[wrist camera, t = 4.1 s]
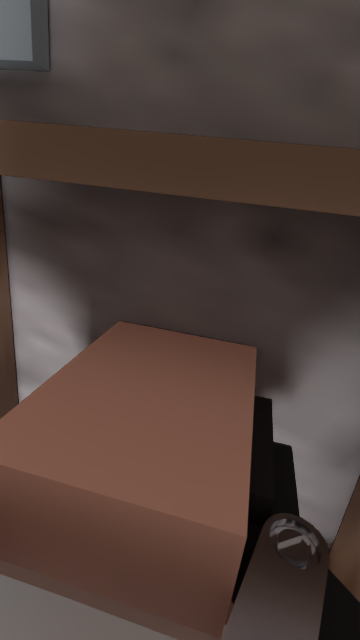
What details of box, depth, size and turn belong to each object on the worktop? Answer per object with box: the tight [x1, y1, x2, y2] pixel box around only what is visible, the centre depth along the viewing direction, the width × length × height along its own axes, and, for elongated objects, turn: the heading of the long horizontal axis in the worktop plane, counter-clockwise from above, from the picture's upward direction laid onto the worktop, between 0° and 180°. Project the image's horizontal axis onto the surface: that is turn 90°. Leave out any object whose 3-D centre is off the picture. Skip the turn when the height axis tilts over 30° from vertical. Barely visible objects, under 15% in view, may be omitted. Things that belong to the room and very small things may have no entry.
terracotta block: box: [0, 321, 257, 639], centre depth 10 cm, size 5×5×7 cm
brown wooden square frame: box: [0, 120, 360, 639], centre depth 11 cm, size 16×16×3 cm
